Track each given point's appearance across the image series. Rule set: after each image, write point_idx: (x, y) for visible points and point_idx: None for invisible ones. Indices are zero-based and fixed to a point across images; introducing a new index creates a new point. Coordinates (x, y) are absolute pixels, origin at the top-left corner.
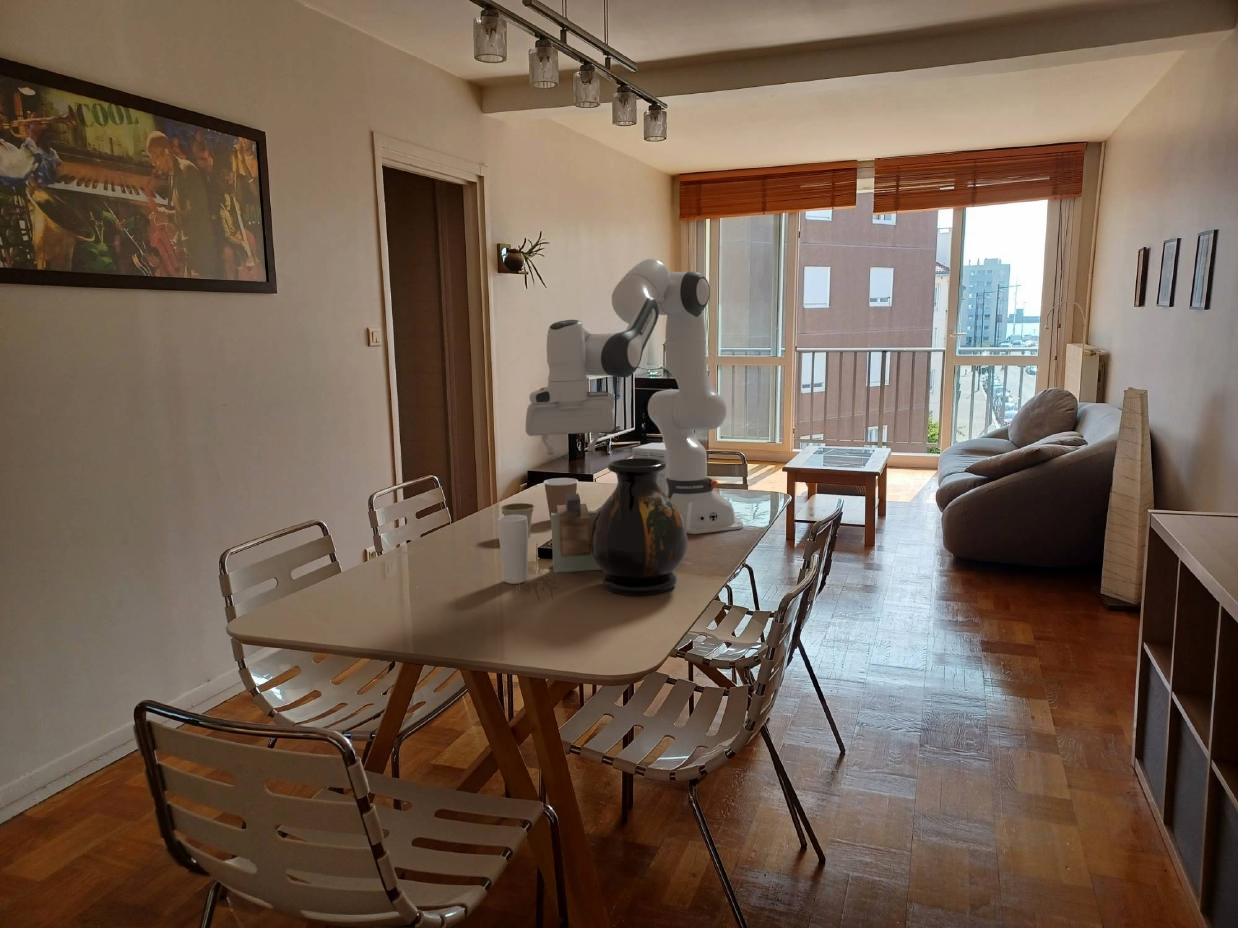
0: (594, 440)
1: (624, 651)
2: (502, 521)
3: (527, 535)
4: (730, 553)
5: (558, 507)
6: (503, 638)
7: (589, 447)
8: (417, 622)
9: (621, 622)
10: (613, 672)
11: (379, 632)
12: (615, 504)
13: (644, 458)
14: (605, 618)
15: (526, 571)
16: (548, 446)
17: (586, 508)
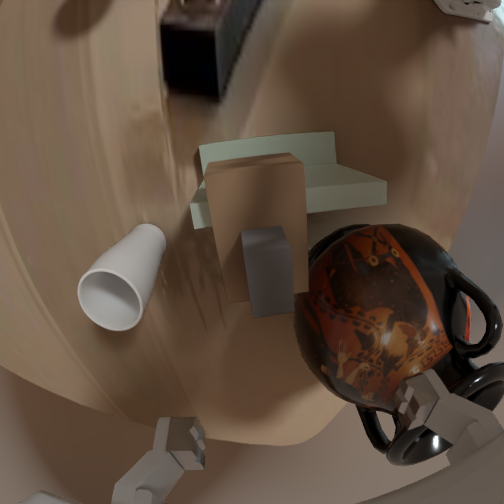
0: (444, 436)
1: (301, 424)
2: (98, 324)
3: (153, 286)
4: (481, 132)
5: (211, 200)
6: (193, 410)
7: (407, 418)
8: (93, 371)
9: (308, 384)
10: (289, 443)
11: (77, 384)
12: (364, 406)
13: (500, 379)
14: (293, 377)
15: (163, 252)
16: (176, 473)
17: (304, 214)
